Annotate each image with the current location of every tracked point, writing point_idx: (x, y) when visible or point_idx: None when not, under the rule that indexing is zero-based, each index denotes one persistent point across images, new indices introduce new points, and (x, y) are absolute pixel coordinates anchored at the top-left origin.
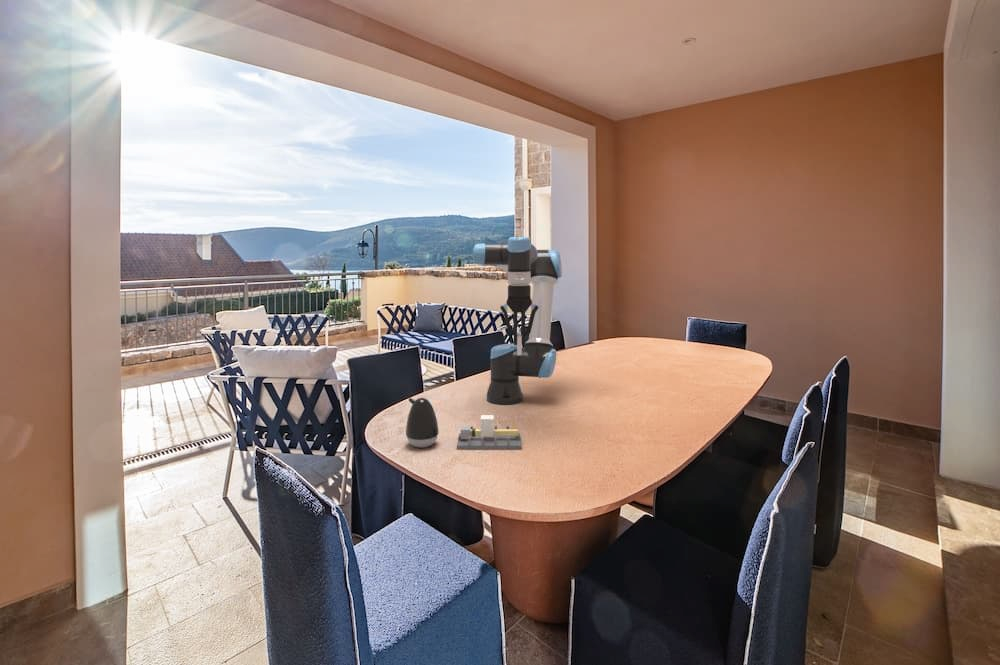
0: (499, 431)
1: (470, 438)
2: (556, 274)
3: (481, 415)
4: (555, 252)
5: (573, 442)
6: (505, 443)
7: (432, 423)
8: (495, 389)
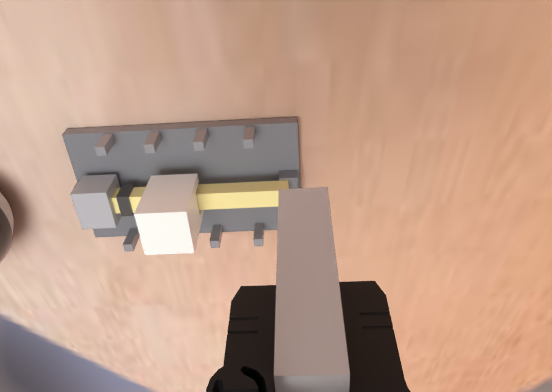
0: (221, 208)
1: (132, 249)
2: None
3: (136, 217)
4: None
5: (488, 159)
6: (248, 215)
7: None
8: None
